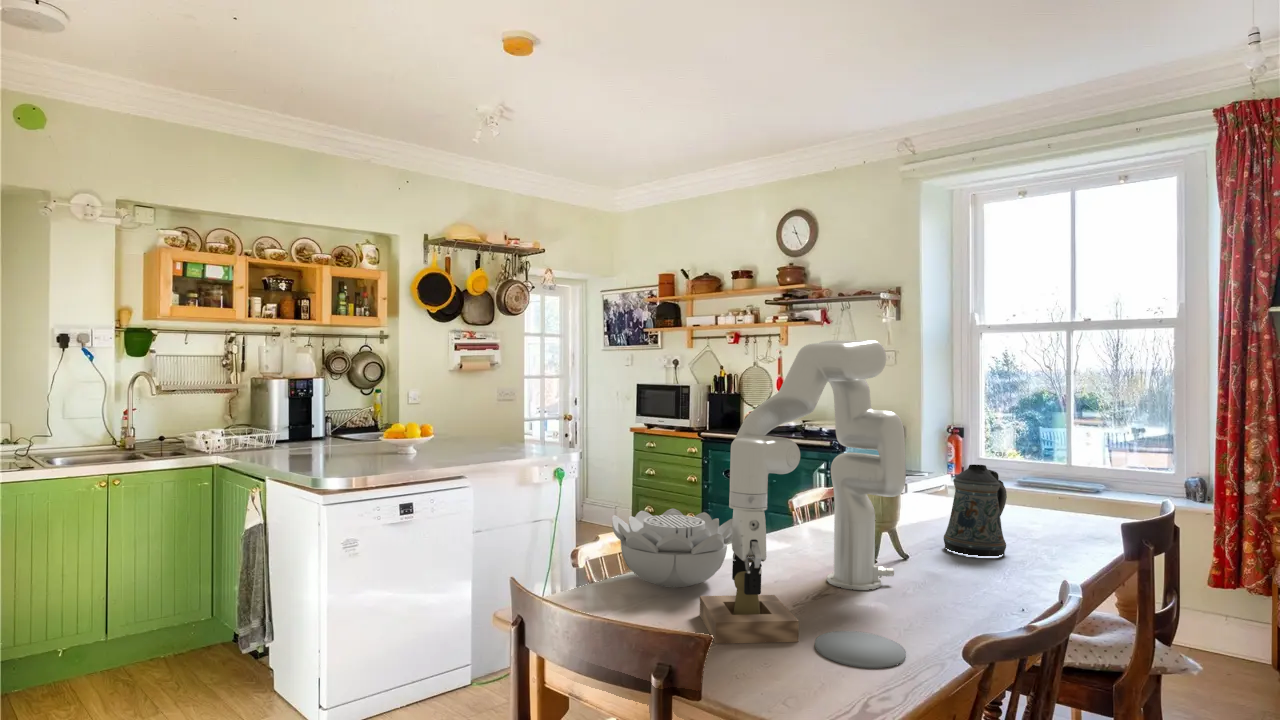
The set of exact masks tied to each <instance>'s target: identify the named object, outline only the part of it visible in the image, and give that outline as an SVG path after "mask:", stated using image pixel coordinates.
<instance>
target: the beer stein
mask: <svg viewBox="0 0 1280 720" xmlns="http://www.w3.org/2000/svg"><path fill="white" fill-rule="evenodd" d="M999 476H1000V475H999V473H998V472H997V471H995V470H991V469H988V468H987V465H986V464H985V465H984V464H969V465H968V467H967V468H966V469H965V470H963V471H962V472H960V473H959V474H957V475H956V476H955V477H954V478H953V480H952V482H953V486H954V489H955V490H954V497H953V502H952V507H951V512H950V517H949V521H948V524H947V528H946V529H945V533H944V535H943V541H944V542H943V543H944V549H945V548H947V549H949V550H951V551H955V552H958V553H963V554H968V555H978V556H999V555H1002V554H1004V555H1005V552H1006V550H1007V549H1006V548H1007V542H1006V540H1005V538H1004V535H1003V529H1002V528H1003V527H1002V521H1001V515H1002V514H1003V512H1004V509H1005V506H1006V503H1007V498H1008V497H1007V489H1006V487H1005V485H1004V482H1003V481H1002V480H1000V479H999Z"/></svg>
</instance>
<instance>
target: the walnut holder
mask: <svg viewBox="0 0 1280 720" xmlns="http://www.w3.org/2000/svg"><path fill="white" fill-rule="evenodd" d="M735 599H736V595H700V596H699V617H700V619H701V621H702V623H703V624H704V625H705V628H706V630H707V631H708V633H709V634H711V635H713V637H714V640H713V641H714V644H716V645H717V644H718V645H719V644H725V645H726V644H760V643H761V644H762V643H764V644H765V643H799V630H800V629H799V627H800V625H799V624H800V623H799V622H800V621H799V620H798V618H797V616H795V615H794V614H793V613H792V611H790V610H789V609H788V607H786V605H784V603H783V602H782V601H781V600H780V598H778V597H777V595H775V594H760V595H758V599H759V607H760V614H750V615H733V612H734V606H735ZM711 635H710V636H711Z"/></svg>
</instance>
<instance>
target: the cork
mask: <svg viewBox="0 0 1280 720" xmlns="http://www.w3.org/2000/svg"><path fill="white" fill-rule="evenodd" d="M744 573H746V571H744V572H739V573H737V574H736V576H735V578H734V580H733V582H734V586H735V588H736V592H735V596H736V599H735V606H734V612H733V615H750V614H760V607H759V599H758V595H746V594H745V593H744Z"/></svg>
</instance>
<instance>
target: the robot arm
mask: <svg viewBox="0 0 1280 720" xmlns="http://www.w3.org/2000/svg"><path fill="white" fill-rule="evenodd" d="M886 363H887V353H886V350H885V348H884V346H883V345H882V344H881V343H880V341H877V340H874V339H853V340H852V339H850V340H848V339H847V340H846V339H839V340H838V339H837V340H834V339H833V340H824V341H820V342H815V343H809V344H806V345H804V346H803V347H801V348H800V350H799V351H798V352H797V354H796V356H795V358H794V360H793V362H792V363H791V366H790V368H789V370H788V372H787V374H786V376H785V378H784V380H783V382H782V384H781V387H780V388H779V390H778V391H777V392H776V393H775V394H774V395H772V396H770V397H769V398H767V399H766V400H764V401H763V402H762V403H761V404H759V405H758V406H756V407H755V408H754V409H753V410H752V411H751V412H750V413H749V414H747V416H746V417H745V419H744V420H743V422H742V424H741V426H740V427H739V430H737V431H738V432H737V433H736V436H735V438H734V439H733V441H732V442H731V444H730V463H729V464H730V465H729V466H730V468H729V499H728V501H729V503H728V507H729V509H731V510H732V509H733V510H732V511H733V512H732V519H733V522H732V539H731V550H732V552H733V553H732V573H731V575H732V576H731V578H732V580H733V581H734V578H735V576H736V574H737V573H739V572H744V571H746V573H744V593H745V594H746V595H762V567H763V566H762V562H766V560H767V528H766V527H767V525H766V522H767V521H766V515H765V514H766V513H765V511H767V510H768V489H769V488H768V483H769V481H768V480H769V474H777V475H786V474H789V473H791V472H793V471H794V470H795V469H796V468H798V466H799V464H800V461H801V450H800V448H799V446H798V445H797V443H796V442H795V441H793V440H792V439H790V438H787V437H783V436H782V437H780V436H772V435H767V434H768V433H770V432H771V431H772V430H774V429H775V428H777V427H779V426H782V425H784V424H786V423H790V422H794V421H796V420H798V419H802V418H805V417H806V416H809V415H810V414H812V413H813V412H814V410H815V409H816V407H817V404H818V402H819V400H820V399H821V396H822V394H823V391H824V389H825V387H826V385H827V383H829V385H830V387H831V389H832V392H833V401H834V403H833V406H834V407H833V408H834V422H835V423H834V425H835V426H834V427H835V436H836V439H837V442H838V443H839V445H841V446H843V447H846V448H850V449H851V448H852V449H857V450H858V449H860V450H870V451H871V450H872V451H877V452H878V454H871V453H864V452H863V453H862V452H861V453H860V452H844V453H840V454H838V455H837V456H835V457H834V458H833V460H832V462H831V465H830V477H831V482H832V488H833V499H834V514H833V515H834V519H833V520H834V522H833V523H834V524H833V529H834V530H833V531H834V532H833V572H830V573H828V574H827V575H826V582H827V583H828V584H830V585H832V586H834V587H838V588H840V587H841V589H846V590H852V589H853V591H870V590H869V589H872V590H877V589H879V588H880V587H881V586H882V581H881V578H882V577H894V575H895V570H894V568H893V567H889V568H888V567H884V566H878V565H876V564H875V558H876V557H875V555H876V554H875V549H876V548H875V547H876V546H875V545H876V544H875V543H876V542H875V539H876V538H875V537H876V511H875V508H874V505H873V503H872V500H871V499H870V497H869V495H870V496H871V495H872V496H878V497H884V498H885V497H888V498H894V497H898V496H900V495H901V494H902V493H903V491H904V488H905V485H906V481H907V478H906V477H907V474H906V473H907V471H906V469H907V468H906V467H907V466H906V465H907V464H906V444H905V442H906V440H905V439H906V438H905V429H904V424H903V421H902V418H900V416H899V415H898V414H897V413H895V412H893V411H890V410H885V409H884V410H881V409H873V408H872V404H871V403H872V401H871V390H870V387H869V384H868V382H867V380H868V379H872V378H876V377H878V376H879V375H880V374H881V373H882V372H883V371H884V369H885V367H886ZM876 588H877V589H876Z"/></svg>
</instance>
